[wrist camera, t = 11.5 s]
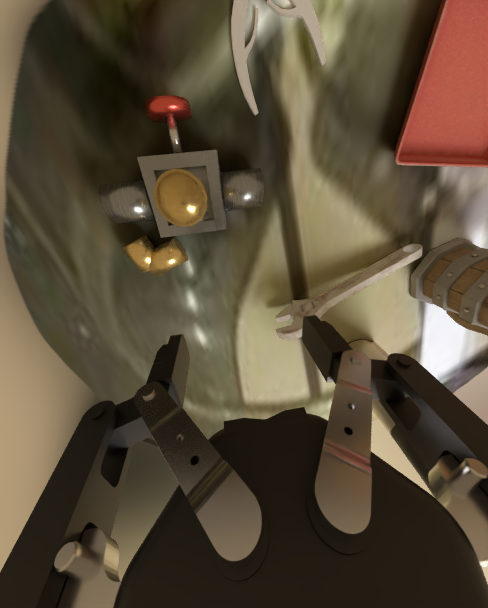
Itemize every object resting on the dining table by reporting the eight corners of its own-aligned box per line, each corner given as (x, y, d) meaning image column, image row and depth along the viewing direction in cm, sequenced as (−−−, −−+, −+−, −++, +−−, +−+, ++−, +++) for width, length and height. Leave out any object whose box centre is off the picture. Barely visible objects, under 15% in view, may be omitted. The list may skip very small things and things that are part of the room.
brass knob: (203, 171, 25) (201, 166, 18) (210, 214, 27) (211, 223, 21) (163, 175, 24) (146, 171, 18) (174, 218, 27) (162, 229, 20)
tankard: (409, 259, 39) (509, 295, 26) (475, 228, 37) (614, 250, 25) (409, 330, 49) (480, 381, 36) (460, 307, 48) (553, 351, 35)
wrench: (397, 247, 40) (268, 321, 40) (397, 239, 39) (264, 314, 39) (442, 257, 33) (285, 346, 33) (443, 247, 32) (281, 339, 32)
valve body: (252, 106, 24) (262, 88, 20) (258, 221, 31) (266, 227, 26) (85, 119, 22) (56, 103, 18) (130, 237, 29) (116, 247, 25)
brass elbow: (189, 256, 32) (167, 222, 29) (186, 263, 29) (162, 226, 26) (152, 275, 32) (127, 244, 30) (146, 285, 29) (118, 251, 27)
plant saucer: (377, 166, 30) (395, 164, 27) (437, -44, 21) (473, -80, 18) (477, 169, 32) (503, 168, 30) (570, -17, 23) (620, -45, 20)
